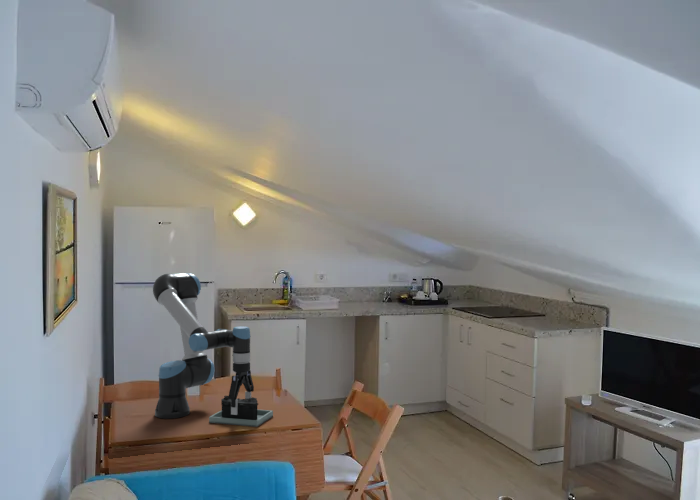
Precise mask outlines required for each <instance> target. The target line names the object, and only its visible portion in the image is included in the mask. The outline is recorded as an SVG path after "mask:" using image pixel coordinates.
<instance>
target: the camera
mask: <svg viewBox="0 0 700 500" xmlns="http://www.w3.org/2000/svg"><path fill="white" fill-rule="evenodd" d="M228 396H229V395H224V397H222V398H221V404H220V405H221V410H222V417H223V418H235V419H247V420H257V409H258V405H259V402H258V400H257V399H258V398H256V397H252V396H251V398H249V399H245V398H238V397H237V399H238V414H237V415H232V414H231V399H228Z"/></svg>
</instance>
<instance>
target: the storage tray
mask: <svg viewBox="0 0 700 500" xmlns="http://www.w3.org/2000/svg"><path fill="white" fill-rule="evenodd" d="M273 416H274V410H271V409H269V410H268V409H267V410H266V409H258V408H257V420H247V419H235V418H223V417H222V409H221V410H219V411H217V412H216V413H213V414H212V415H210V416H209V417H208V423H210V424H221V425H231V426H243V427H255V428H257V427H259V426H261V425H262V424H264V423H265V422H266V421H268V420H269V419H271V418H273Z"/></svg>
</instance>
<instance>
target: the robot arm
mask: <svg viewBox="0 0 700 500" xmlns="http://www.w3.org/2000/svg"><path fill="white" fill-rule="evenodd" d="M201 288H202V285H201V282H200V279H199V278H198V277H197V275H195V274H193V273H190V272H189V273H187V272H182V273H181V272H180V273H165V274H162V275H160V276H159V277H157V278H156V279H155V281H154V282H153V286H152V293H153V294H152V295H153V297H154V299H155V300H156V301H157V303H158V304H159V305H160V306H163V307H164V308H165V310H166V311H167V312H168V313H169V314H170V315H171V317H172V318H173V319H174V321H176V323H177V324H178V326H179V327H180V335H181V341H182V346H183V347H182V348H183V353H184V356H183V358H182V359H179V360H171V361H167V362H164V363H163V364H161V365H160V366H159V370H158V388H159V389H158V401H157V404H156V407H155V410H154V417H156V418H159V419H178V418H183V417H186V416H189V415H190V414H191V412H190V411H191V408H190V405H189V403H188V399H187V396H186V395H187V394H186V391H187V390H186V389H190V388H194V387H198V386H199V387H200V386H203V385H205V384H208V383H210V382H211V381H212V380H213V378H214V375H215V370H216V369H215V364H214V362H213V361H212V359H210V358H208V355H207V353H206V352H204V351H208V350H212V349H214V350H215V349H219V348H225V347H226V348H232V361H233V362H232V371H233V372H234V373H235V375H232V376H231V383H230V388H229V392H228V395H227V396H228V399H231V414H232V415H237V414H238V396H239V392H240V389H241V387H242V386H243V387H244V388H245V392H244V399H249V398H252V392H254V389H255V386H254V382H253V377H252V373H251V372H252V371H251V329H250V327H249V326H245V325H244V326H240V325H239V326H234V327H233V328H232V329H227V328H218V329H216V330H214V331H207V329H206V328H205V327H204V326H203V325H202V323H201V322H200V321H199V319H198V314H197V313H198V312H197V306H196V302H197V300H198V296H199V295H200V293H201V290H202V289H201Z"/></svg>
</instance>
